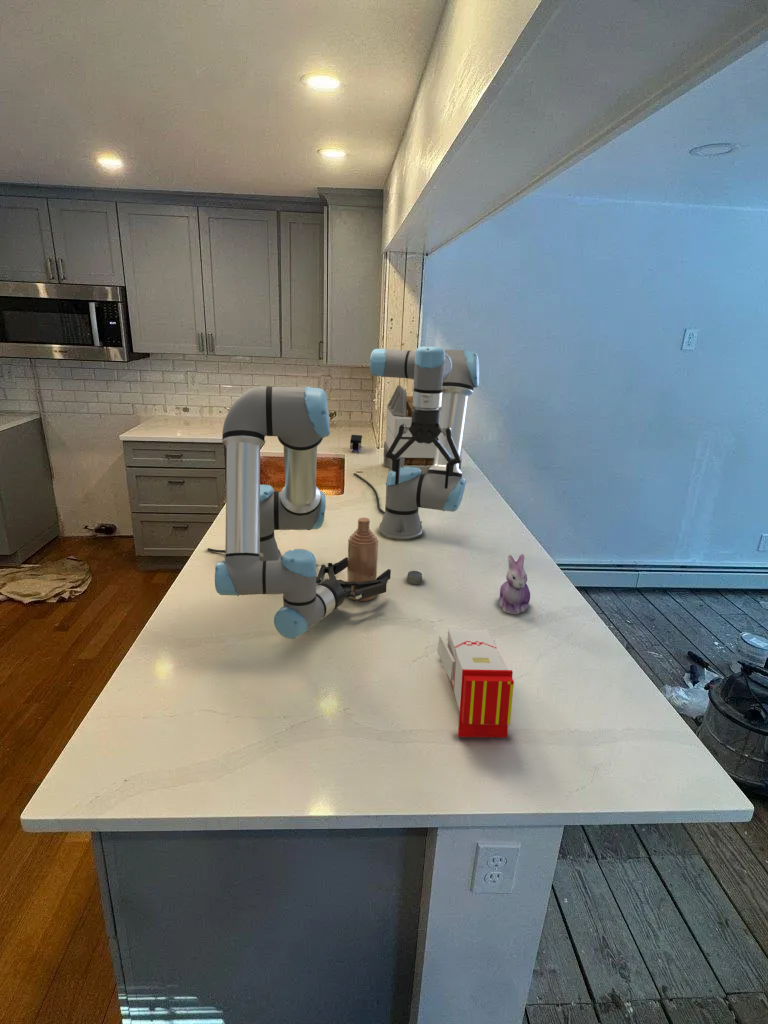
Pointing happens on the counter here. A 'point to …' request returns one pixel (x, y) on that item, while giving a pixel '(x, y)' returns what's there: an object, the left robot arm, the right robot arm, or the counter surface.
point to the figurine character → (355, 442)
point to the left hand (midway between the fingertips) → (368, 567)
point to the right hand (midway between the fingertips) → (421, 485)
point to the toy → (478, 682)
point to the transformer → (402, 414)
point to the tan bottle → (362, 555)
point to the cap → (414, 577)
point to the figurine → (515, 588)
